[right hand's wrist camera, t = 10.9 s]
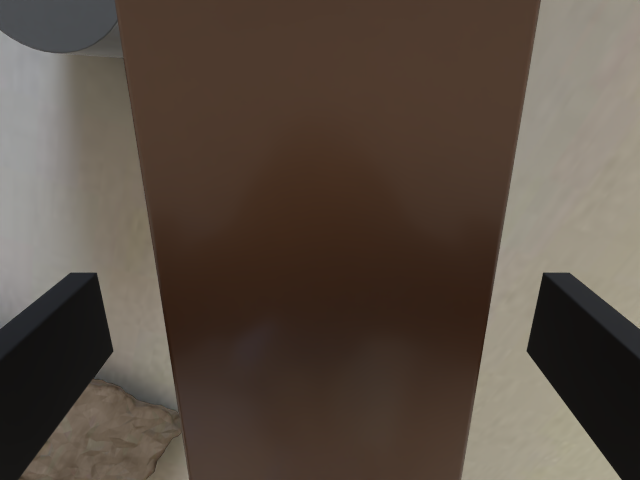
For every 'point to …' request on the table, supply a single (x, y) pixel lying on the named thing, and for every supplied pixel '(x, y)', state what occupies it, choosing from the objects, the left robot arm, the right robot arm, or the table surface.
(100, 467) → the stone
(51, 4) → the grey cylinder white top
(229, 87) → the walnut block
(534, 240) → the table surface
